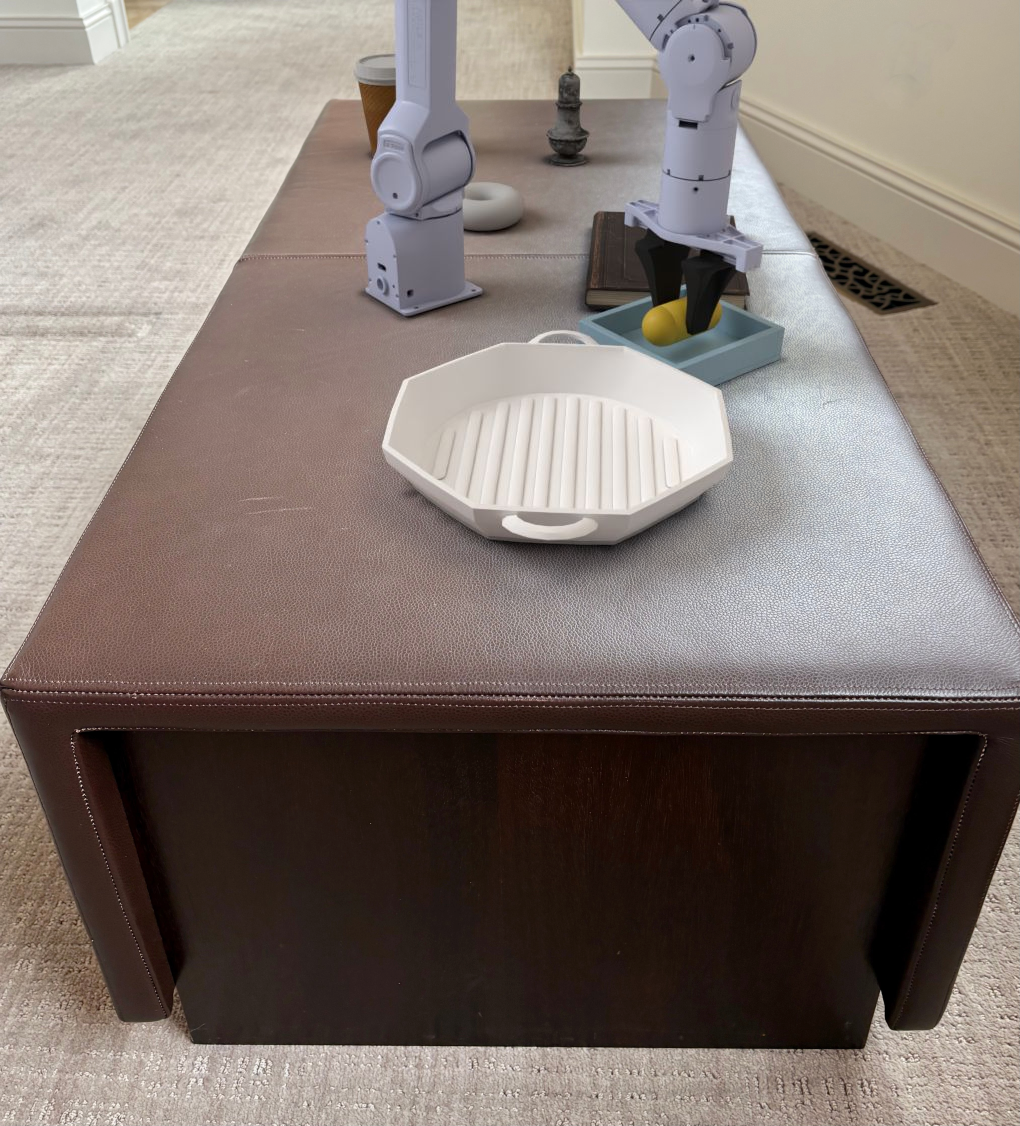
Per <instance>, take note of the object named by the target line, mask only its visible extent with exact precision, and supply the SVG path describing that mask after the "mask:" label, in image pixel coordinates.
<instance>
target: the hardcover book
mask: <svg viewBox="0 0 1020 1126" xmlns="http://www.w3.org/2000/svg"><path fill="white" fill-rule="evenodd" d="M728 215H729V216H730V225H732V226H733V227H734V228H736V229H737V225H736V219H735V215H733V214H731V215H730V214H728ZM624 223H625V211H610V210H609V211H605V210H599V211H597V212H596V213H594V215H593V219H592V226H591V236H590V244H589V254H588V262H587V263H588V264H587V271H586V281H585V289H584V297H583V299H584V304H585V307H587V308H588V309H590V310H605V311H608V310H611V309H614V308H617V307H620V306H623V305H626V304H629V303H632V302H635V301H638V300H641V299H644V298H646V297H649V296H651V293H650V288H649V284H648V280H647V277H646V274H645V271H644V268H643V266H642V263H641V261H640V259H639V257H638V255H637V254H636V252H635V250H634V248H635V242H636V241H638V240H640V239H644V238H645V235H647V229H645V228H642V227H640V226H635V227H630V226H628V225H625V224H624ZM695 256H700V251H699V250H696V249H694V248H691V249H690V252H689V255H688V258H687V259H689V258H692V257H695ZM685 284H686V283H685V278H684V274H683V276H682V282H681V286H682V285H685ZM746 297H751V291H750V287H749V282H748V277H747V272H745V273H743V272H740V271H737V272H736V274H735V275H734V276H733V278H732V279H731V281H730V282H729V284H728V285H727V287H726V288H725V290H724V292H723V294H722V296H721V298H720V300H722V301H725V302H727V303H729V304H732V305H734V306H736V307H738V308H741V309H743V310H745V311H747V312H748V308H747V304H746Z"/></svg>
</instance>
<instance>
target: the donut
mask: <svg viewBox="0 0 1020 1126" xmlns="http://www.w3.org/2000/svg"><path fill="white" fill-rule="evenodd" d="M525 204H526V203H525V198H524V197H523V194H522V193H521V192H519V191H518V190H517V189H516V188H514V187H512V186H509V185H507V184H504V183H498V182H489V181H478V182H477V181H475V182H470V183H469V184H468V185H467V186H465V199H463V205H462V206H463V230H467V231H475V232H487V231H488V232H489V231H496V230H497V231H498V230H502V229H505V228H508V227H511V226H513V225H515V224H517V223H518V222H519V221H520V220H521V218H522V217H523V215H524V213H525V210H526V205H525Z"/></svg>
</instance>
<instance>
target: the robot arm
mask: <svg viewBox="0 0 1020 1126" xmlns="http://www.w3.org/2000/svg"><path fill="white" fill-rule="evenodd" d="M614 1H615V2H616V3H617V5H618V6H619V7H620V8H621V10H622V11H623V12H624V13H625V14H626V15H627V17H628V18H629V19H630V20H631V22H632V23H633V24H634V26H636V28H637V29H638V30H639V31H640V32H641V33H642V35H643V36H644V37H645V38H646V39H647V41H648V42H649V43H650V44H651V45H652V47H653V48H654V49H655V50H657V51H658V52H657V56H656V57H657V66H658V67H657V68H658V71H659V74H660V77H661V79H662V81H663V83H664V84H665V86H666V89H667V92H668V95H667V96H668V97H667V107H666V114H665V118H666V119H665V129H664V140H663V141H664V142H663V153H662V166H661V177H660V178H661V180H660V189H659V201H658V202H654V201H650V200H646V199H644V198H640V199H636V200H633V201H628V202H625V207H624V209H625V211H624V212H625V223H624V224H625V225H628V226H630V227H635V226H640V227H642V228H645V229H647V235H645V238H644V239H640V240H638V241H636V242H635V248H634V250H635V252H636V254H637V255H638V257H639V259H640V261H641V263H642V266H643V268H644V271H645V274H646V277H647V280H648V284H649V288H650V293H651V298H652V304H653V308H655V307H657V306H660V305H663V304H666V303H669V302H672V301H674V300H677V299H679V298H680V290H681V282H682V276H683V274H684V278H685V283H686V292H687V308H686V328H687V333H688V334H690V335H695V334H698V333H701V332H704V331H706V330H708V327H709V324H710V322H711V319H712V316H713V314H714V311H715V309H716V306H717V304H718V302H719V300H720V298H721V296H722V294H723V292H724V290H725V288H726V287H727V285H728V284H729V282H730V281H731V279H732V278H733V276H734V275H735V274H736V272H737V271H740V272H743V273H745V272H746V273H748V272H752V271H754V270H756V269H759V268H761V265H762V264H761V263H762V257H763V251H764V250H763V249H764V244H762V243H759V242H757V241H756V240H753V239H752V238H750V237H748V236H747V235H745V234H744V233H743V232H742V231H740V230H738V229H737V227H736V228H734V227H733V226H732V225H730V216H729V215H730V214H728V206H729V199H730V198H729V197H730V190H731V189H730V188H731V182H732V181H731V180H732V172H733V164H734V157H735V156H734V155H735V147H736V140H737V139H736V138H737V132H738V122H739V116H740V115H739V113H740V112H739V110H740V101H741V94H742V84H743V80H742V79H739V78H741V77H742V76H743V75H744V74H745V73H746V72H747V71H748V70H749V68H750V67H751V65H752V64H753V62H754V59H755V58H756V54H757V50H758V49H757V48H758V35H757V30H756V26H755V25H754V22H753V20H752V19H751V18H750V16H749V13H748V11H747V8H746V7H744V6H743V5H742V4H740V3H737V2H735V1H731V0H614ZM457 34H458V0H394V44H395V45H394V47H395V48H394V49H395V53H394V54H395V56H396V102H395V104H394V105H393V107H392V108H391V110H390V112H389V113H388V115H387V116H386V118H385V119H384V121H383V122H382V124H381V125H380V127H379V129H378V145H377V150H376V153H375V156H373V157H372V160H371V164H370V170H369V171H370V173H369V174H370V181H371V184H372V185H371V186H372V188H373V191H374V193H375V195H376V197H377V198H378V200H379V201H380V203H381V204H382V205H383V206H384V208H385V209H384V210H385V211H383V213H382V214H380V215H378V216H376V217H373V218H371V219H369V220H368V222H367V223H366V226H365V231H364V244H365V256H366V267H367V268H366V269H367V278H368V279H367V280H368V286H366V287H365V292H366V294H368V295H370V296H372V297H373V298H375V299H376V300H378V301H379V302H381V303H383V304H384V305H386V306H387V307H389V308H391V309H392V310H394V311H396V312H398V313H400V314H401V315H403V316H405V317H412V316H414V315H417V314H419V313H420V314H421V313H424V312H427V311H430V310H434V309H436V308H440V307H443V306H446V305H450V304H454V303H457V302H460V301H464V300H466V299H469V298H473V297H476V296H480V295H482V294H483V289H482V287H480V286H479V285H476V284H474V283H472V282H470V281H469V280H467V279H466V273H465V271H466V269H465V242H464V241H465V240H464V239H465V237H464V229H463V206H462V205H463V199H465V186H467V185H468V184H469V183H472V180H473V178H474V176H475V174H476V169H477V157H476V152H475V151H476V150H475V149H474V146H473V143H472V140H471V137H470V118H469V116H468V115H467V113H466V112H465V111H464V110H463V109H462V107H461V106H460V105H459V104H458V103H457V101H456V95H457V93H456V91H457V89H456V87H457V86H456V85H457V83H456V82H457V42H458V41H457V39H458V38H457V36H458V35H457ZM691 248H694V249H696V250H699V251H700V256H695V257H692V258H689V259H687V258H688V255H689V252H690V249H691Z"/></svg>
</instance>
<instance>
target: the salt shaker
mask: <svg viewBox="0 0 1020 1126" xmlns="http://www.w3.org/2000/svg"><path fill="white" fill-rule="evenodd" d="M557 91H558V92H557V101H555V103H554V104H555V106H556V109H557V110H556V114H557V115H556V122H555V126H554V127H553V128H549V130H547V131H546V132H545V134H546V136H547V137H548V139H547V140H548V144H549V146H550V148H551V150H552V151H553V152H555V153H553V154H551V155H550V156H548V158H547V162H548V163H550V164H551V165H554V166H558V167H559V166H560V167H576V166H582V165H584V164H586V163H587V161H588V160H587V158H586V157H585V156H584V155H583V154H581V153H582V151H583V150H584V149H585V147H586V145H587V143H588V138H589V137H590V136H591V135H590V134H591V133H590V131H589V130H587V129H585V128H583V127H582V124H581V118H580V117H581V106H583V101H582V100H581V78H580V76H579V75H578V74H576V73H574V72H573V68H572V66H571V65H569V66H568V67H567V71H566V72H565V73H563V74H561V75H560V77H559V78H558V89H557Z"/></svg>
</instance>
